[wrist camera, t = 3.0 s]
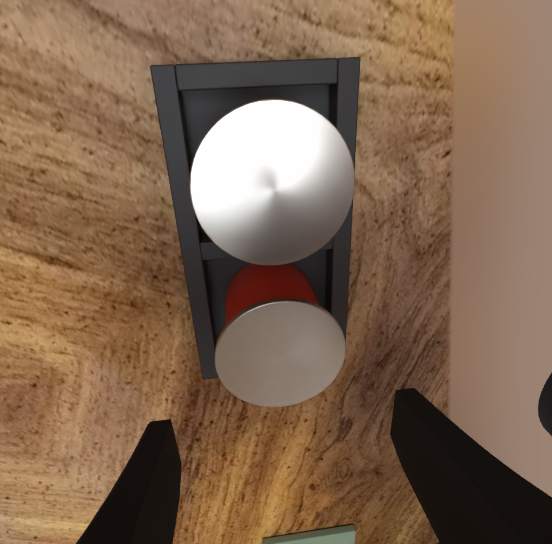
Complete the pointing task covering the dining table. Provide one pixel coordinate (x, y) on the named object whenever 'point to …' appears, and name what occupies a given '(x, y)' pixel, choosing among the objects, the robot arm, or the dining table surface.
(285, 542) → the coaster
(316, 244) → the gold coffee pod
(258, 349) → the red pod
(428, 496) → the robot arm
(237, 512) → the dining table surface
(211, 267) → the pod holder
